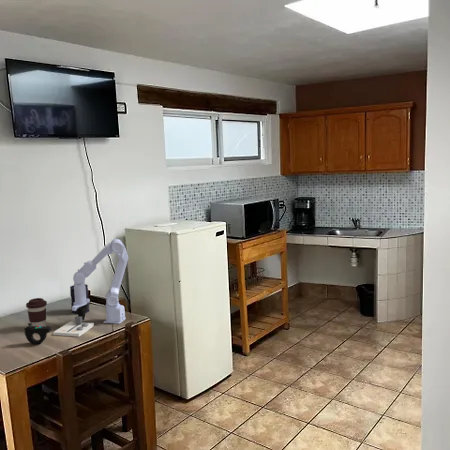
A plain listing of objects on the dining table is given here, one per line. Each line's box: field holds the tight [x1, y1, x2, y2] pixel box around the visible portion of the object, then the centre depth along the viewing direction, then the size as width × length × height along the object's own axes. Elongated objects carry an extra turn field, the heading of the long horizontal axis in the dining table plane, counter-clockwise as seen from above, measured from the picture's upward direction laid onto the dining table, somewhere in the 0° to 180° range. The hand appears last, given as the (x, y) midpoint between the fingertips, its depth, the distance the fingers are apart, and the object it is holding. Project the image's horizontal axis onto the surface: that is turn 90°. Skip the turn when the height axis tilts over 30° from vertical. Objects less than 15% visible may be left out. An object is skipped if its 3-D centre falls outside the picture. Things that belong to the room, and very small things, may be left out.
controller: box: [24, 322, 53, 345], centre depth 218 cm, size 4×12×10 cm, turn 91°
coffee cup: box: [25, 297, 48, 326], centre depth 239 cm, size 10×10×15 cm
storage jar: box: [69, 283, 90, 315], centre depth 263 cm, size 10×10×15 cm
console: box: [52, 321, 95, 338], centre depth 234 cm, size 14×15×2 cm
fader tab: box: [74, 315, 84, 324], centre depth 239 cm, size 3×2×4 cm, turn 78°
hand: (82, 319), depth 242 cm, fingers closed
